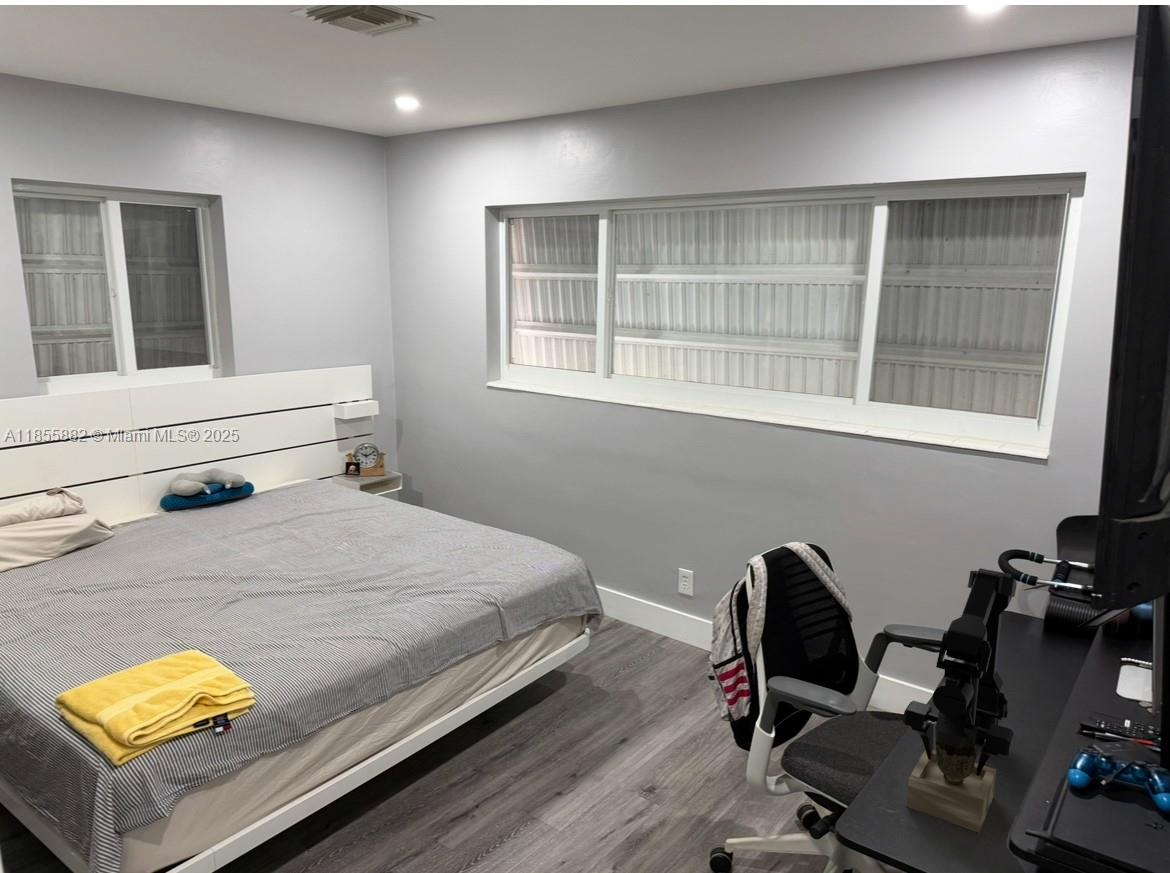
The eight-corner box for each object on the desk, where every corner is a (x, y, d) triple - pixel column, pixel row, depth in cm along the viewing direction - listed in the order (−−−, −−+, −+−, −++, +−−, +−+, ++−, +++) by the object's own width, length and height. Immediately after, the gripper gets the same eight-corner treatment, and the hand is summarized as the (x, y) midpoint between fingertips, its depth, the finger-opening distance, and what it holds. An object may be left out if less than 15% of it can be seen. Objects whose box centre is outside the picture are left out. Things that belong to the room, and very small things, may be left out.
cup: (980, 780, 157) (983, 743, 156) (966, 798, 152) (970, 760, 151) (940, 765, 162) (944, 728, 161) (926, 781, 157) (929, 744, 156)
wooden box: (924, 773, 167) (926, 747, 166) (993, 797, 160) (996, 769, 158) (906, 806, 157) (908, 778, 156) (979, 833, 149) (982, 804, 148)
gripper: (897, 695, 153) (891, 769, 156) (1007, 727, 142) (998, 806, 145) (913, 672, 162) (908, 743, 165) (1018, 700, 151) (1009, 776, 154)
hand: (953, 766), depth 157 cm, fingers open, 8 cm apart
